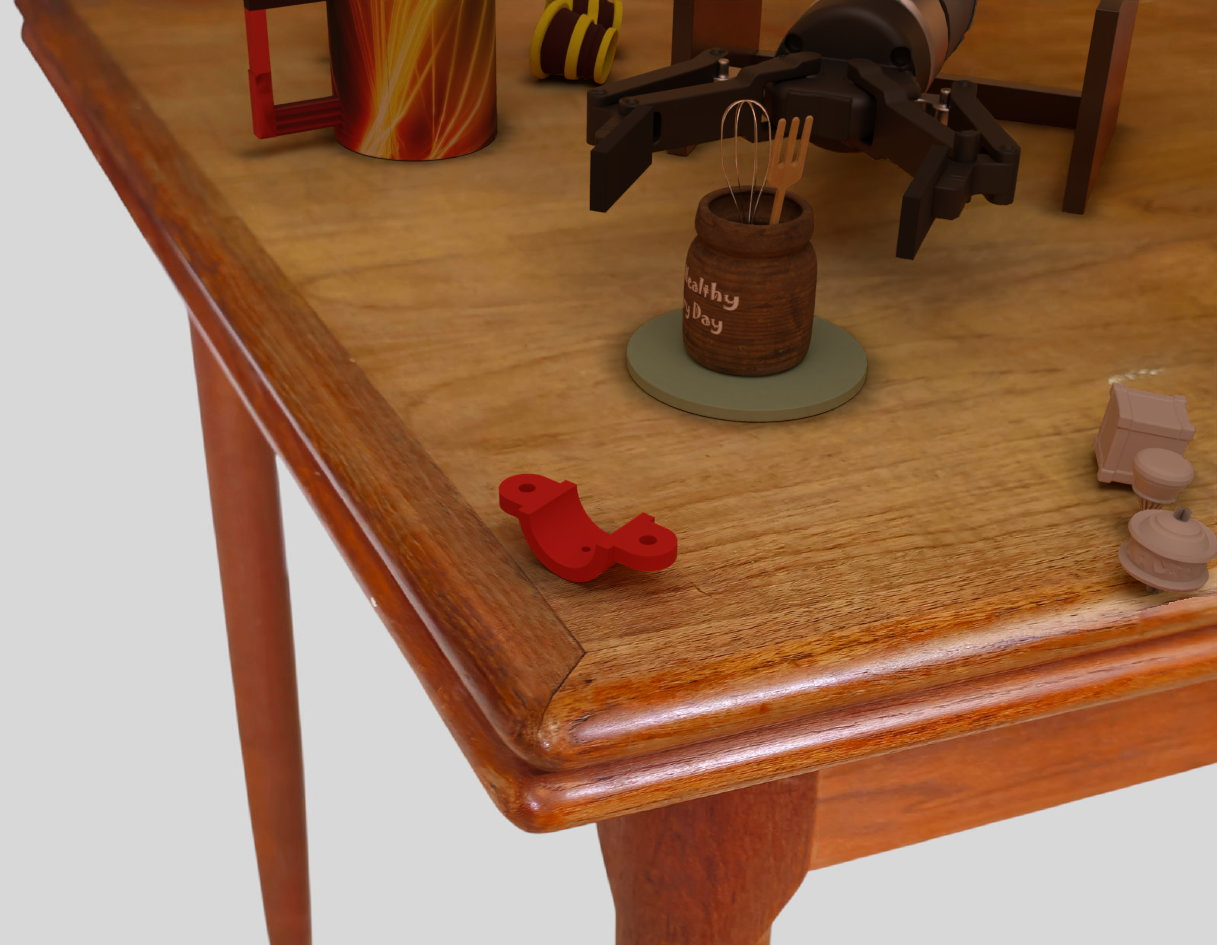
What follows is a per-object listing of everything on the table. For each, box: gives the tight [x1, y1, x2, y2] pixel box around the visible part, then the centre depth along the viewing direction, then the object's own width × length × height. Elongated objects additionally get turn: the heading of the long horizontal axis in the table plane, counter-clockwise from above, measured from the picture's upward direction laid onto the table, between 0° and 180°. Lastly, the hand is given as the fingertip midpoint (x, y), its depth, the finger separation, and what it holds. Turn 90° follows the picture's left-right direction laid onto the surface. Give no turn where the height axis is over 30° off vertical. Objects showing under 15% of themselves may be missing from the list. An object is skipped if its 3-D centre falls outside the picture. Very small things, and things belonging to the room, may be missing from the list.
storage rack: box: [666, 0, 1140, 215], centre depth 105 cm, size 15×24×11 cm, turn 70°
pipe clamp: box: [498, 473, 678, 583], centre depth 68 cm, size 8×3×2 cm, turn 51°
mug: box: [242, 0, 498, 161], centre depth 103 cm, size 10×14×12 cm
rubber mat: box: [625, 307, 868, 423], centre depth 83 cm, size 11×11×1 cm
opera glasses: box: [528, 0, 624, 85], centre depth 117 cm, size 10×5×5 cm, turn 176°
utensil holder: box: [682, 100, 818, 376], centre depth 79 cm, size 6×6×12 cm
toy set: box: [1091, 382, 1217, 595], centre depth 71 cm, size 12×3×4 cm, turn 172°
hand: (748, 205), depth 77 cm, fingers open, 13 cm apart
